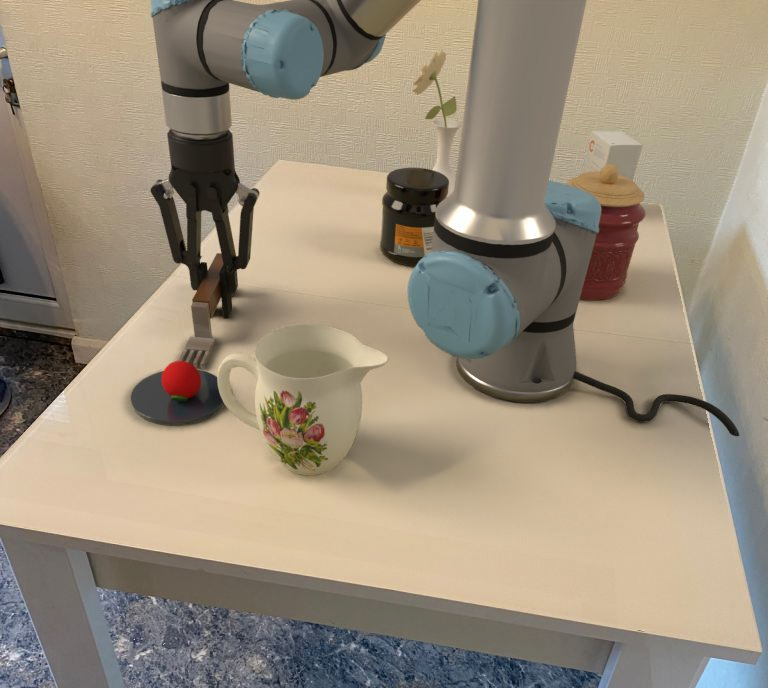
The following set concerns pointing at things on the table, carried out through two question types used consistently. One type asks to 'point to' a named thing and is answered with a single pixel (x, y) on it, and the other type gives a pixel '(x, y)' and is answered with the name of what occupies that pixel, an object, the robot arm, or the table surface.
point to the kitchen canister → (611, 230)
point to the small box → (612, 152)
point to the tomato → (181, 380)
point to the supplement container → (410, 213)
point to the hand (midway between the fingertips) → (217, 311)
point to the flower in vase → (442, 126)
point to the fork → (204, 315)
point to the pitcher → (304, 393)
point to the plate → (163, 410)
